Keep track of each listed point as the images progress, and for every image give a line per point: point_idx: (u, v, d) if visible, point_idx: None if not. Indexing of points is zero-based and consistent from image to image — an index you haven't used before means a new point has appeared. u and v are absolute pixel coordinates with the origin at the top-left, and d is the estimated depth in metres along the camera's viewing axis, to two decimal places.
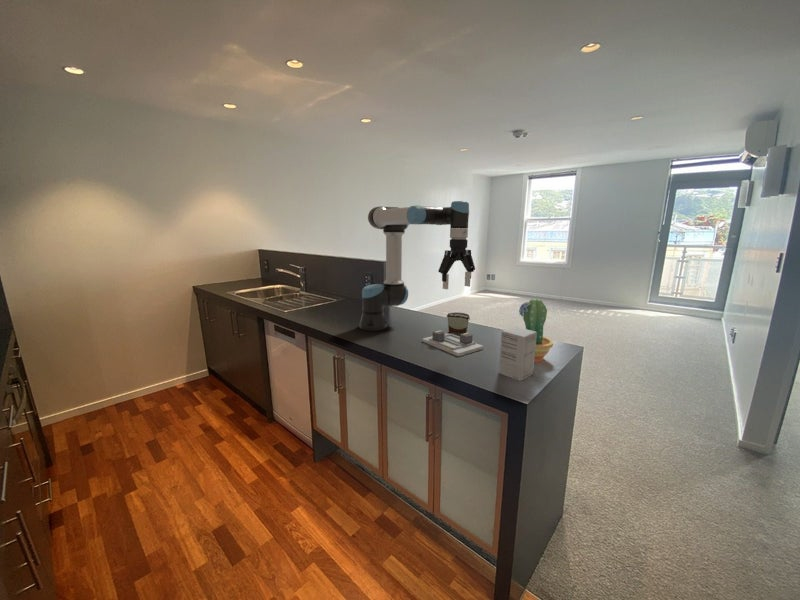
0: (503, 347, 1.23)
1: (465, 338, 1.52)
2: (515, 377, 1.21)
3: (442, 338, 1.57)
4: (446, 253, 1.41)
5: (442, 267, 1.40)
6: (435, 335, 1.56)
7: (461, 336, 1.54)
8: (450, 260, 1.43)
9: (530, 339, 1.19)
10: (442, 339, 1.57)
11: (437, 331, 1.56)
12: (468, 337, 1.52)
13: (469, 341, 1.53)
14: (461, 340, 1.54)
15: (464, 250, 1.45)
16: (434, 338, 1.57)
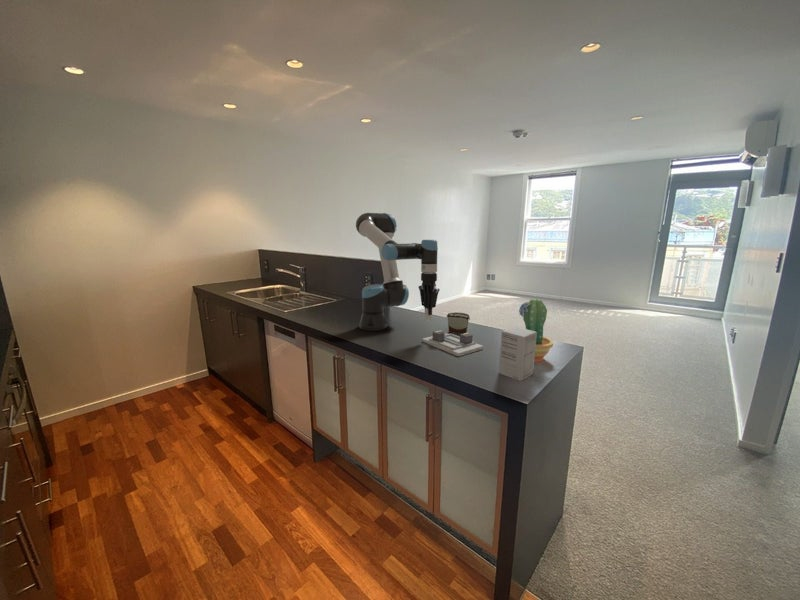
0: (503, 347, 1.23)
1: (465, 338, 1.52)
2: (515, 377, 1.21)
3: (442, 338, 1.57)
4: None
5: None
6: (435, 335, 1.56)
7: (461, 336, 1.54)
8: None
9: (530, 339, 1.19)
10: (442, 339, 1.57)
11: (437, 331, 1.56)
12: (468, 337, 1.52)
13: (469, 341, 1.53)
14: (461, 340, 1.54)
15: (431, 284, 1.56)
16: (434, 338, 1.57)
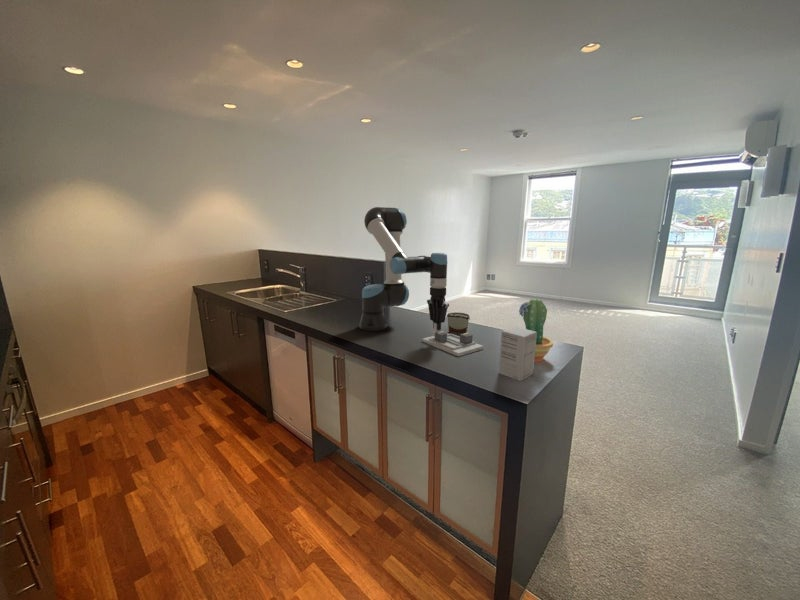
0: (503, 347, 1.23)
1: (465, 338, 1.52)
2: (515, 377, 1.21)
3: (444, 339, 1.55)
4: None
5: None
6: (437, 336, 1.55)
7: (461, 336, 1.54)
8: None
9: (530, 339, 1.19)
10: (444, 340, 1.55)
11: (439, 332, 1.55)
12: (468, 337, 1.52)
13: (469, 341, 1.53)
14: (461, 340, 1.54)
15: (440, 298, 1.52)
16: (436, 339, 1.56)
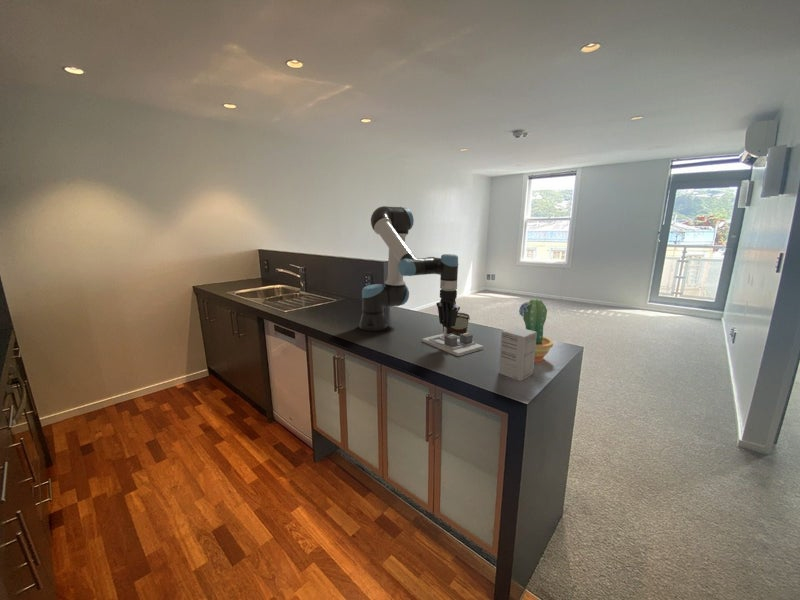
0: (503, 347, 1.23)
1: (465, 338, 1.52)
2: (515, 377, 1.21)
3: (455, 343, 1.50)
4: None
5: None
6: (447, 340, 1.50)
7: (461, 336, 1.54)
8: None
9: (530, 339, 1.19)
10: (455, 344, 1.50)
11: (449, 335, 1.50)
12: (468, 337, 1.52)
13: (469, 341, 1.53)
14: (461, 340, 1.54)
15: (451, 301, 1.46)
16: (446, 343, 1.51)
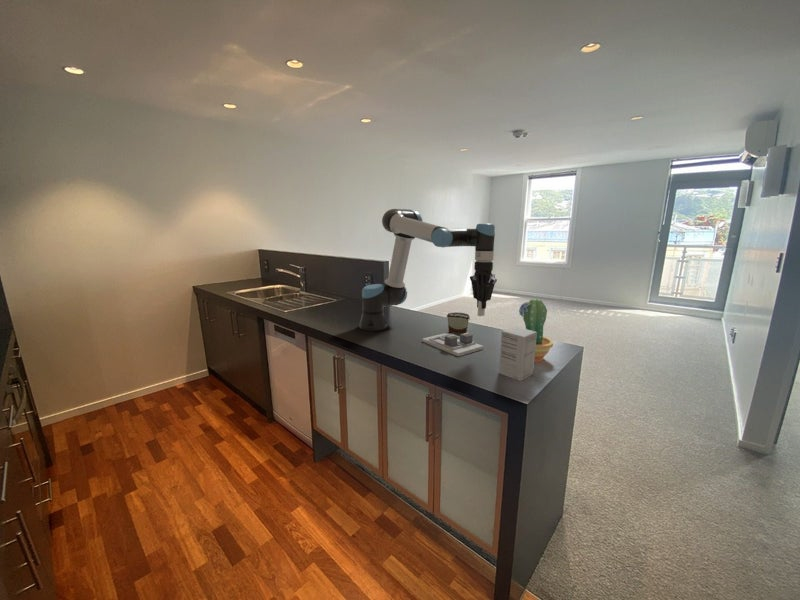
0: (503, 347, 1.23)
1: (465, 338, 1.52)
2: (515, 377, 1.21)
3: (455, 343, 1.50)
4: None
5: None
6: (447, 340, 1.50)
7: (461, 336, 1.54)
8: None
9: (530, 339, 1.19)
10: (455, 344, 1.50)
11: (449, 335, 1.50)
12: (468, 337, 1.52)
13: (469, 341, 1.53)
14: (461, 340, 1.54)
15: (487, 273, 1.38)
16: (446, 343, 1.51)
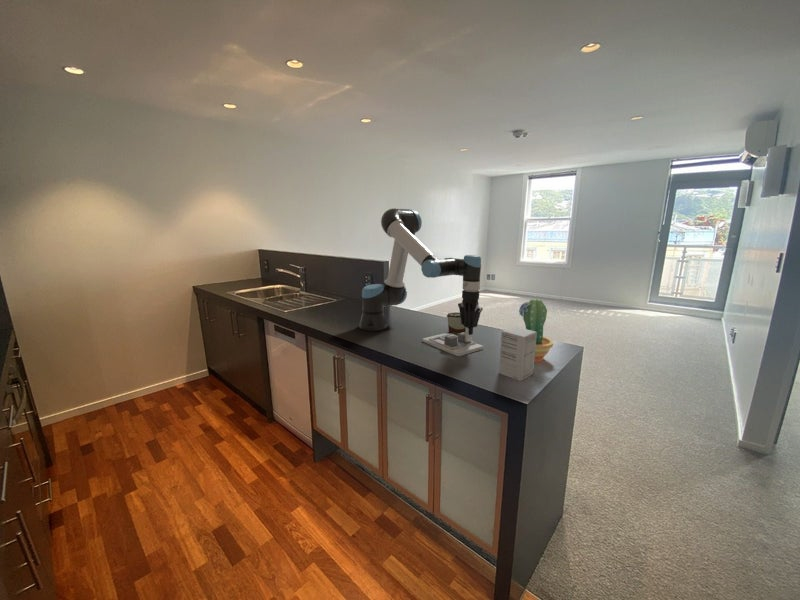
0: (503, 347, 1.23)
1: (463, 337, 1.53)
2: (515, 377, 1.21)
3: (455, 343, 1.50)
4: None
5: None
6: (447, 340, 1.50)
7: (459, 335, 1.55)
8: None
9: (530, 339, 1.19)
10: (455, 344, 1.50)
11: (449, 335, 1.50)
12: None
13: None
14: (459, 339, 1.55)
15: (474, 302, 1.46)
16: (446, 343, 1.51)
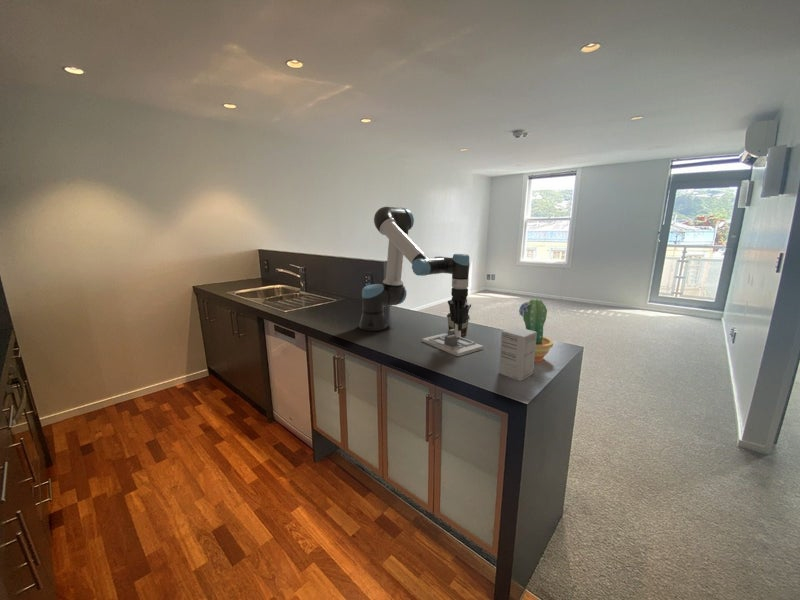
0: (503, 347, 1.23)
1: (452, 334, 1.58)
2: (515, 377, 1.21)
3: (455, 343, 1.50)
4: None
5: None
6: (447, 340, 1.50)
7: (449, 332, 1.60)
8: None
9: (530, 339, 1.19)
10: (455, 344, 1.50)
11: (449, 335, 1.50)
12: None
13: None
14: None
15: (462, 299, 1.52)
16: (446, 343, 1.51)
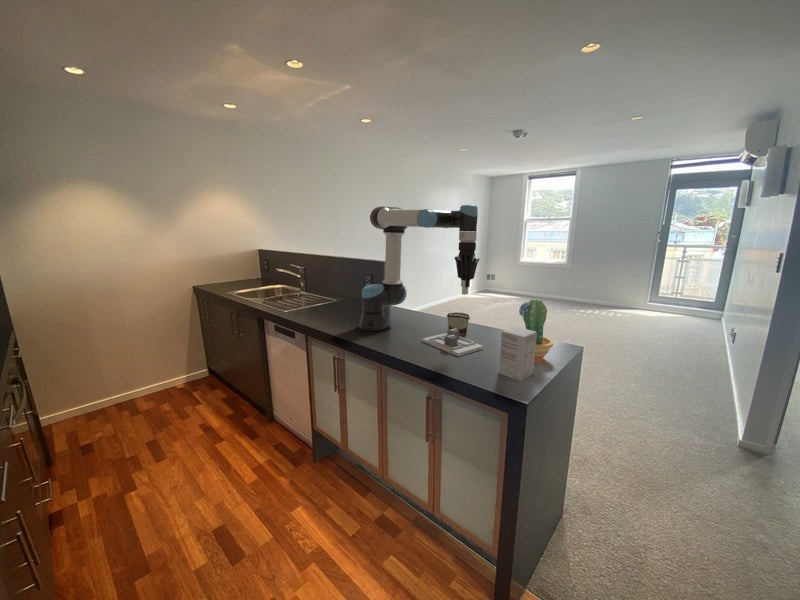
0: (503, 347, 1.23)
1: (452, 333, 1.58)
2: (515, 377, 1.21)
3: (455, 343, 1.50)
4: None
5: None
6: (447, 340, 1.50)
7: (448, 332, 1.60)
8: None
9: (530, 339, 1.19)
10: (455, 344, 1.50)
11: (449, 335, 1.50)
12: (455, 333, 1.59)
13: (456, 336, 1.59)
14: (448, 335, 1.61)
15: (470, 253, 1.45)
16: (446, 343, 1.51)
